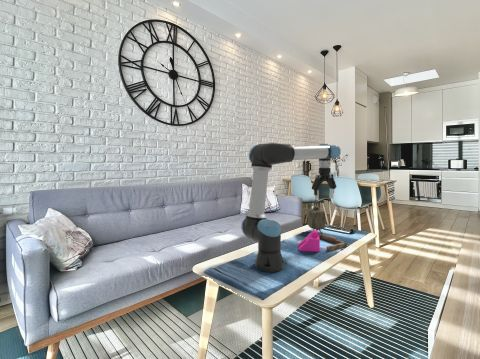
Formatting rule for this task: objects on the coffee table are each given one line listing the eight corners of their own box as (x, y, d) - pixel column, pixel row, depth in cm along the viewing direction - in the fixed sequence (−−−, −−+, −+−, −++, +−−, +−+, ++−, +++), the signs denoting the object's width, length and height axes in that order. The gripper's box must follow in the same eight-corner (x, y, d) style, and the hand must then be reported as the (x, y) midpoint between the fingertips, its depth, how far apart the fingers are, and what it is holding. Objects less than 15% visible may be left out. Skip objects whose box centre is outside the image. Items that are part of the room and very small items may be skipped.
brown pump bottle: (324, 235, 179) (325, 201, 177) (312, 235, 180) (312, 201, 178) (318, 229, 194) (319, 198, 192) (307, 230, 194) (307, 198, 192)
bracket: (317, 245, 159) (317, 230, 158) (319, 251, 149) (319, 235, 148) (298, 245, 161) (298, 229, 160) (299, 250, 151) (299, 234, 150)
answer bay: (328, 251, 149) (328, 246, 149) (303, 241, 168) (303, 236, 168) (346, 246, 156) (346, 241, 156) (321, 237, 175) (321, 232, 175)
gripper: (314, 168, 156) (314, 201, 157) (342, 167, 167) (341, 198, 169) (306, 167, 162) (306, 199, 164) (333, 166, 174) (333, 196, 175)
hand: (324, 199), depth 166 cm, fingers open, 13 cm apart
